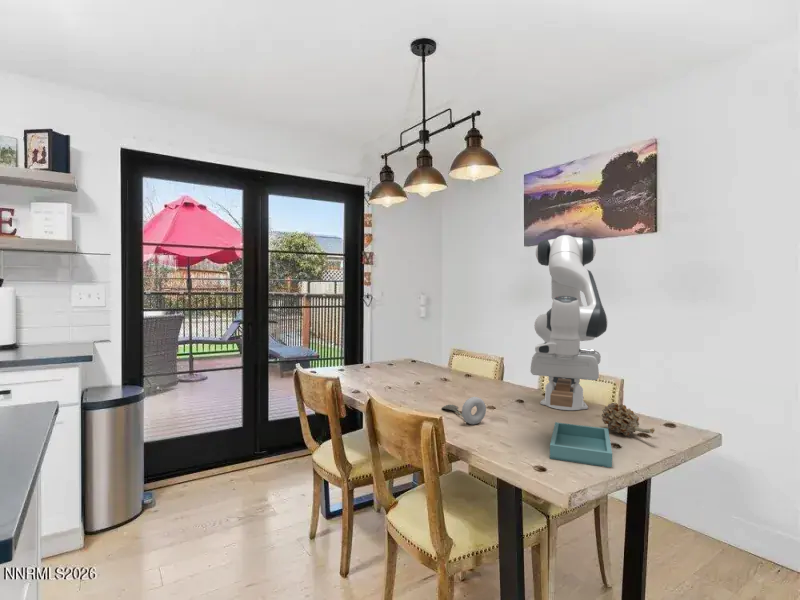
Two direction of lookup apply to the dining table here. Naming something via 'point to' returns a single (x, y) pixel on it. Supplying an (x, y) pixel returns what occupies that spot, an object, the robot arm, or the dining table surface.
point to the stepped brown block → (562, 393)
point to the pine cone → (622, 419)
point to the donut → (468, 407)
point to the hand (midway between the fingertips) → (563, 391)
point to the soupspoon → (452, 408)
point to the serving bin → (581, 444)
